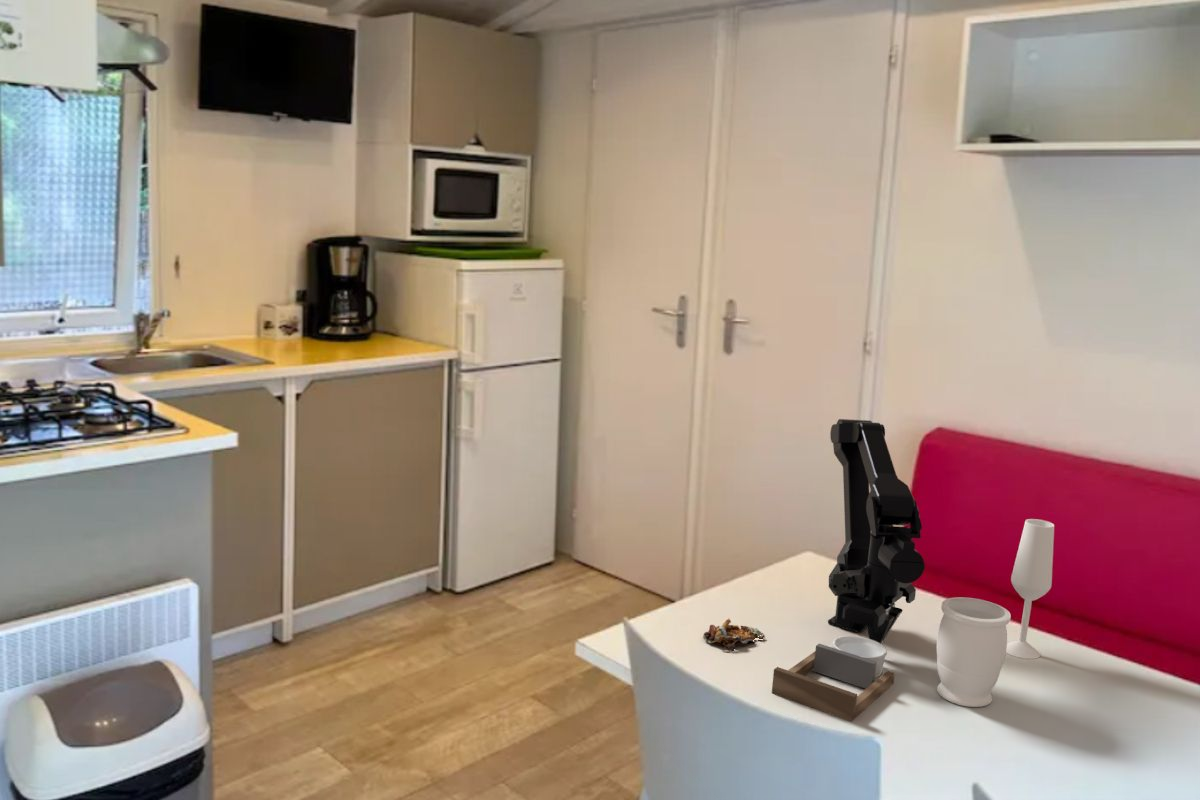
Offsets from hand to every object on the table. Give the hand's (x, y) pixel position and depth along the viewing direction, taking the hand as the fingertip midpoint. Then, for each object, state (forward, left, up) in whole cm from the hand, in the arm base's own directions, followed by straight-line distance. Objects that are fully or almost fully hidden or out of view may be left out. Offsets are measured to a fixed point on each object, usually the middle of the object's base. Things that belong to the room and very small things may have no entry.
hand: (874, 648), depth 181 cm
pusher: (+13, 0, -1) cm, 13 cm away
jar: (+4, +17, -2) cm, 17 cm away
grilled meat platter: (+11, -22, -2) cm, 24 cm away
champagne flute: (-22, +19, -2) cm, 29 cm away
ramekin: (+7, 0, -2) cm, 7 cm away
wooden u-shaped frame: (+16, 0, -2) cm, 16 cm away
